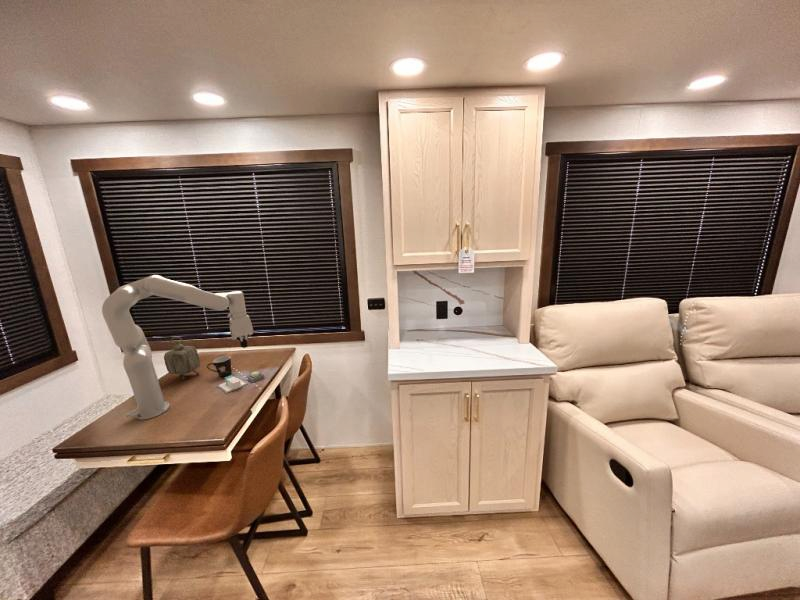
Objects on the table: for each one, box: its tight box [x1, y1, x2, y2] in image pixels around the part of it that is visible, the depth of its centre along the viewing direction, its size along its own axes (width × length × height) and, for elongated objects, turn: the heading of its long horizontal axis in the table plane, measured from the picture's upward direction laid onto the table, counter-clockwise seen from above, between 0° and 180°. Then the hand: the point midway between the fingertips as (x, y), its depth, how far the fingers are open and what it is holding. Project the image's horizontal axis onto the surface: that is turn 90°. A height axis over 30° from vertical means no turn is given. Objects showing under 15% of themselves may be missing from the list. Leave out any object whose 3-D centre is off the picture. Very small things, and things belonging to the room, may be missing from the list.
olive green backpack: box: [163, 336, 201, 380], centre depth 174 cm, size 14×9×25 cm, turn 84°
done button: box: [250, 371, 260, 378], centre depth 169 cm, size 4×4×3 cm
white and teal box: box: [224, 374, 242, 391], centre depth 162 cm, size 4×11×4 cm, turn 50°
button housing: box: [246, 371, 265, 383], centre depth 169 cm, size 6×6×2 cm
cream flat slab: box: [216, 377, 249, 395], centre depth 163 cm, size 11×13×1 cm
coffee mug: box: [206, 355, 233, 379], centre depth 175 cm, size 12×9×10 cm
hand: (244, 347), depth 164 cm, fingers closed
